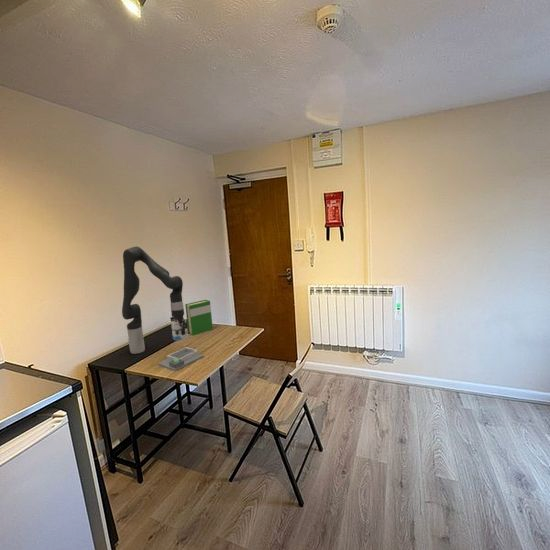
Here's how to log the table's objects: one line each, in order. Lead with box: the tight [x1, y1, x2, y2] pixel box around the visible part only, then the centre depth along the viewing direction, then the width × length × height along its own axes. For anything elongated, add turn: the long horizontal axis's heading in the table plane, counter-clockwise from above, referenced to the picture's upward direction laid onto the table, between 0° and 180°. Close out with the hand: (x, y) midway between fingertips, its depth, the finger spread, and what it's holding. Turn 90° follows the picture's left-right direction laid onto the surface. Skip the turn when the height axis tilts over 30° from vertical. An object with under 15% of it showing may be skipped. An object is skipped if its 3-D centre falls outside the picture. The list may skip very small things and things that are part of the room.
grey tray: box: [157, 346, 205, 372], centre depth 190 cm, size 17×22×4 cm
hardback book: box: [184, 299, 214, 336], centre depth 241 cm, size 18×7×24 cm, turn 131°
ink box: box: [170, 321, 189, 342], centre depth 191 cm, size 8×5×12 cm, turn 126°
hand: (180, 333), depth 192 cm, fingers closed on ink box, 6 cm apart
